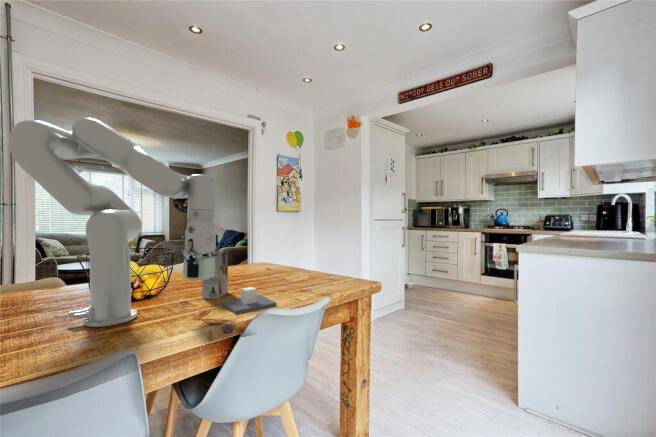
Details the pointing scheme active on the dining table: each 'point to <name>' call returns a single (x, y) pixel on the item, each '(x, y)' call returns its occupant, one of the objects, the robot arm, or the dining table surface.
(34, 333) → the dining table surface
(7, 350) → the dining table surface
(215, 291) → the coffee box
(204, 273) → the square sleeve
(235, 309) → the base
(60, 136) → the robot arm
